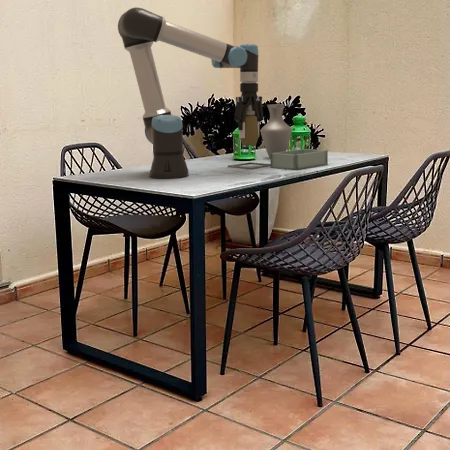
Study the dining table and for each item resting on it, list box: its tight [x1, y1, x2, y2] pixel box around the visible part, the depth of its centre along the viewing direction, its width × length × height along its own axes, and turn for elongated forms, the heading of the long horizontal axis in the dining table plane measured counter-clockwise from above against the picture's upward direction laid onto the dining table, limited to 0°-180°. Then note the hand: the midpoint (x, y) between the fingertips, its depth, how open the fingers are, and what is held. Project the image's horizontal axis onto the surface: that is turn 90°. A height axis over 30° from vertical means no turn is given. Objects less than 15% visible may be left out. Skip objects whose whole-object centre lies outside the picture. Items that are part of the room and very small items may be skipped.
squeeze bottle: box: [239, 105, 260, 147], centre depth 270 cm, size 8×8×18 cm
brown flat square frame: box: [227, 161, 271, 170], centre depth 274 cm, size 14×14×1 cm
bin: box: [269, 148, 329, 171], centre depth 269 cm, size 21×14×6 cm, turn 134°
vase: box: [260, 103, 293, 159], centre depth 297 cm, size 14×14×25 cm
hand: (249, 137), depth 271 cm, fingers closed on squeeze bottle, 8 cm apart
